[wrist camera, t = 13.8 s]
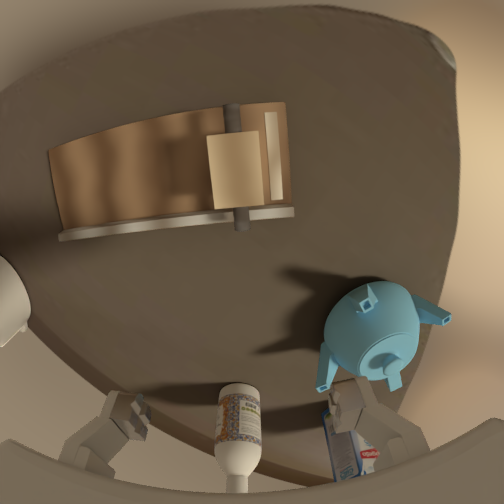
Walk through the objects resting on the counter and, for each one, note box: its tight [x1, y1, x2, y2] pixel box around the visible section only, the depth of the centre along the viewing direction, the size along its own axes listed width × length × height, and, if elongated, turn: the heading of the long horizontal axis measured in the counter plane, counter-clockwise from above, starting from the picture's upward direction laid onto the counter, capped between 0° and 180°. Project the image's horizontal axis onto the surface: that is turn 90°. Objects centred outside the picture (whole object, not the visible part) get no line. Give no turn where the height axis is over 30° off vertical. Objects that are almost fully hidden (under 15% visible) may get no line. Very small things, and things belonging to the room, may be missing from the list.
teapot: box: [316, 281, 451, 393], centre depth 32 cm, size 15×15×11 cm
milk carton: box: [321, 408, 380, 482], centre depth 38 cm, size 10×6×20 cm, turn 62°
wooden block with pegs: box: [207, 104, 264, 232], centre depth 24 cm, size 4×11×6 cm, turn 5°
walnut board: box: [48, 102, 294, 242], centre depth 27 cm, size 28×12×4 cm, turn 95°
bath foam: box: [214, 383, 262, 493], centre depth 34 cm, size 7×7×20 cm
